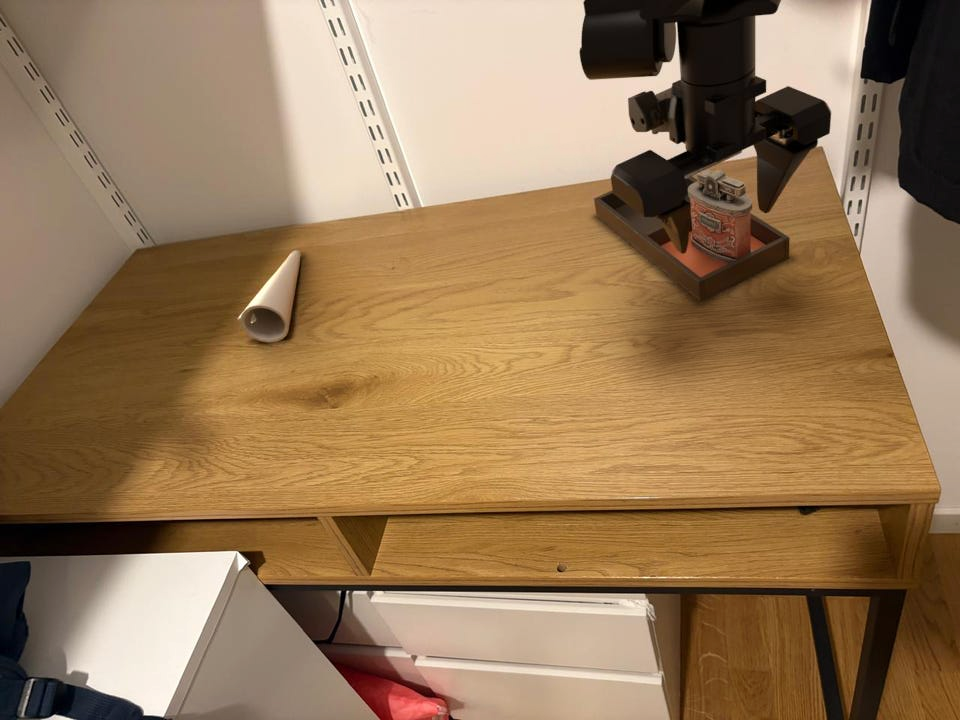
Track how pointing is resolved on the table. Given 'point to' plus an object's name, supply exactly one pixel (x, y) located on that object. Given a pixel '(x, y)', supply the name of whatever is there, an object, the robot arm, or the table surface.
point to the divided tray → (692, 248)
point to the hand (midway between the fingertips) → (723, 231)
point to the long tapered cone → (273, 304)
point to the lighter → (720, 216)
